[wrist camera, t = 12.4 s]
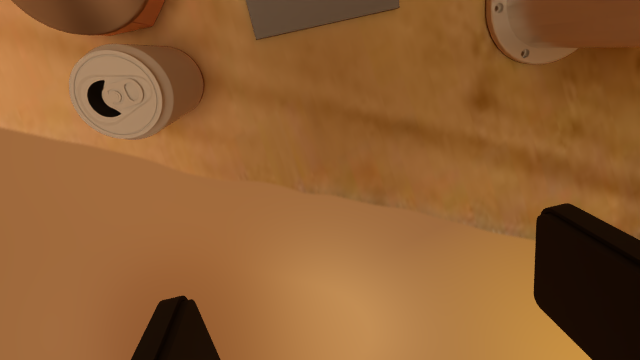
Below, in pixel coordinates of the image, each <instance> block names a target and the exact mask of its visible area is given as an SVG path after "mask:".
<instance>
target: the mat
mask: <svg viewBox="0 0 640 360" xmlns="http://www.w3.org/2000/svg"><path fill="white" fill-rule="evenodd" d="M246 2H247V6H248V10H249V14H250V18H251V22H252V25H253V29H254V33H255V37H256V40H257V39H262V38H266V37H271V36H275V35H280V34H284V33H289V32H293V31H298V30H302V29H307V28H311V27H316V26H320V25H325V24H329V23H334V22H338V21H342V20H347V19H351V18H356V17H360V16H365V15H369V14H374V13H378V12H383V11H387V10H392V9H396V8H399V0H246Z"/></svg>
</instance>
